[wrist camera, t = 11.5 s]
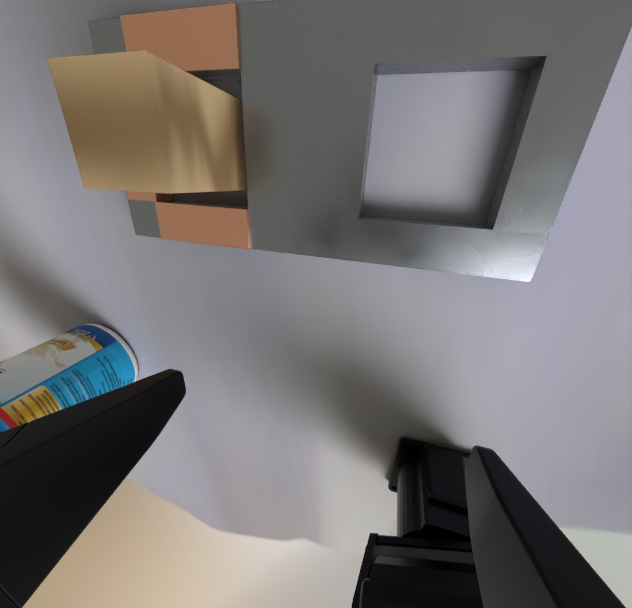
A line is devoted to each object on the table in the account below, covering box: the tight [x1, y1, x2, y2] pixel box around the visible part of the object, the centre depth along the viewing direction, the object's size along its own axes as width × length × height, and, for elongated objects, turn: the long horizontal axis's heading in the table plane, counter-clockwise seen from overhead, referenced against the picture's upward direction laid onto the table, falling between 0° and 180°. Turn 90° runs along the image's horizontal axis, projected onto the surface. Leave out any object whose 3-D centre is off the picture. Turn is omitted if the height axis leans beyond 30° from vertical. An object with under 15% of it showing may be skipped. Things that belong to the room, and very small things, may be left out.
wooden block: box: [47, 50, 246, 194], centre depth 15 cm, size 5×5×7 cm
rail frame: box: [88, 0, 632, 282], centre depth 16 cm, size 12×26×2 cm, turn 87°
